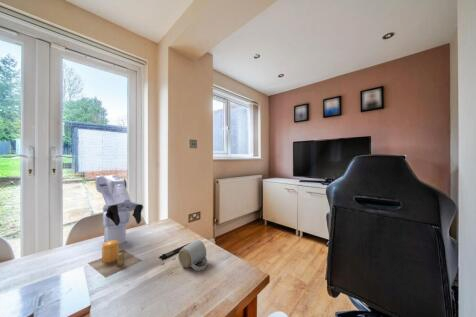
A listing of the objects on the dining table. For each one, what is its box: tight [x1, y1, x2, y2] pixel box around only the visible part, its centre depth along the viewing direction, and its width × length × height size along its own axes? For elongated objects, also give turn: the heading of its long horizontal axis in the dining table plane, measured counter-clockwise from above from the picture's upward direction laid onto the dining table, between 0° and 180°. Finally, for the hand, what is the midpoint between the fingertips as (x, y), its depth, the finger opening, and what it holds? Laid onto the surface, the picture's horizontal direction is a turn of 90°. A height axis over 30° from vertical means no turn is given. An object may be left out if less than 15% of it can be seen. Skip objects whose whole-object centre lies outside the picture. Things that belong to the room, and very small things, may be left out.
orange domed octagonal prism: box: [101, 240, 120, 262], centre depth 70 cm, size 5×5×6 cm
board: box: [87, 249, 143, 279], centre depth 67 cm, size 15×12×6 cm
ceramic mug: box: [178, 239, 208, 272], centre depth 68 cm, size 11×8×8 cm
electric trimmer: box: [158, 242, 191, 266], centre depth 75 cm, size 4×16×3 cm, turn 144°
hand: (129, 222), depth 70 cm, fingers open, 7 cm apart
